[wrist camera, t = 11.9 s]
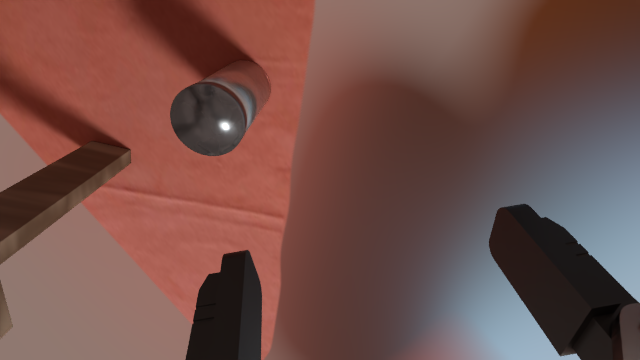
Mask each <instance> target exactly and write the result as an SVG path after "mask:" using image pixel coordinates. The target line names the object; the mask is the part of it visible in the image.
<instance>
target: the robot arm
mask: <svg viewBox="0 0 640 360" xmlns="http://www.w3.org/2000/svg"><path fill="white" fill-rule="evenodd" d="M489 247H490V252H491V254H492V256H493V258H494V260H495V261H496V263H497V264H498V266H499V267H500V269H501V270H502V272H503V273H504V275H505V276H506V278H507V279H508V281H509V282H510V283H511V285H512V286H513V288H514V289H515V291H516V292H517V293H518V295H519V297H520V298H521V300H522V301H523V302H524V304H525V305H526V307H527V308H528V310H529V311H530V313H531V314H532V316H533V317H534V318H535V320H536V321H537V323H538V324H539V326H540V327H541V329H542V330H543V332H544V333H545V335H546V336H547V338H548V339H549V340H550V342H551V343H552V345H553V346H554V348H555V349H556V351H557V352H558V354H559V355H560V356H564V355H570V354H575V353H577V355H578V356H579V357H580V359H581V360H640V303H639V302H638V301H637V300H635V299H634V298H633V297H632V296H631V295H630V294H629V293H628V292H627V291H626V290H625V289H624V288H623V287H622V286H621V285H620V284H619V283H618V282H617V281H616V280H615V279H614V278H613V277H612V276H611V275H610V274H609V273H608V272H607V271H606V270H605V269H604V268H603V267H602V266H601V265H600V264H599V262H597V260H596V259H595V258H593V256H592V255H591V256H590V255H589V254H588V251H587V250H586V249H585V248H583V246H581V244H578V243H577V240H576V239H575V238H574V237H573V236H572V235H571V234H570V233H569V232H568V231H567V230H566V229H565V228H564V227H562V226H560V225H559V224H557V223H555V222H553V221H552V220H550V219H548V218H546V217H545V218H541V217H540V216H539V215H538V214H537V213H536V212H535V211H534V210H533V209H532V208H531V207H530V206H529V205H526V204H520V205H514V206H508V207H502V208H500V209H498V211H497V214H496V217H495V221H494V224H493V228H492V232H491V235H490V239H489ZM193 322H194V323H193V324H192V329H191V334H190V340H189V345H188V350H187V355H186V360H261V322H262V291H261V284H260V280H259V277H258V274H257V271H256V268H255V266H254V263H253V260H252V257H251V255H250V252H249V251H248V250H245V251H239V252H233V253H227V254H224V255H223V258H222V264H221V271H220V272H219V273H213V274H209V275H208V276H207V278H206V279H205V281H204V283H203V284H202V286H201V288H200V289H199V293H198V298H197V303H196V310H195V314H194V319H193Z"/></svg>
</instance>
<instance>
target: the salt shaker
mask: <svg viewBox="0 0 640 360" xmlns="http://www.w3.org/2000/svg"><path fill="white" fill-rule="evenodd" d="M270 93H271V84H270V80H269V78H268V76H267V74H266V72H265V71H264V70H263V69H262V68H261V67H260V66H259V65H257V64H256V63H254V62H251V61H247V60H239V61H235V62H233V63H231V64H229V65H228V66H226V67H224V68H222V69H221V70H219V71H217V72H215V73H213V74H212V75H210V76H208V77H206V78H205V79H203V80H201V81H199V82H198V83H195V84H193V85H191V86H189V87H187V88H185V89H184V90H182V91H181V92H180V93H179V94H178V95H177V96H176V97H175V99H174V100H173V103H172V106H171V111H170V118H171V124H172V127H173V129H174V131H175V133H176V135H177V136H178V138H179V139H180V140H181V141H182V142H183V144H185V145H186V146H187V147H188V148H190V149H191V150H193V151H195V152H197V153H200V154H203V155H208V156H219V155H223V154H226V153H228V152H230V151H232V150H233V149H234V148H235V147H236V146H237V145H238V144H239V142H240V141H241V139H242V138H243V136H244V134H245V132H246V131H247V130H248V128H249V127H250V125H251V124H252V122H253V121H254V120H255V118H256V117H257V115H258V114H259V112H260V111H261V110H262V108H263V107H264V105H265V104H266V102H267V101H268V99H269V97H270Z"/></svg>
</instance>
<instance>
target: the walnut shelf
mask: <svg viewBox="0 0 640 360" xmlns="http://www.w3.org/2000/svg"><path fill="white" fill-rule="evenodd" d="M130 163H131V150H130V149H125V148H121V147H116V146H112V145H107V144H103V143H98V142H94V141H91V142H89V143H87V144H86V145H84V146H82V147H80V148H79V149H77V150H75V151H73V152H71V153H70V154H68V155H66V156H64V157H63V158H61V159H59V160H57V161H55V162H54V163H52V164H50V165H48V166H47V167H45V168H43V169H41V170H39V171H38V172H36V173H34V174H32V175H30V176H29V177H27V178H25V179H23V180H22V181H20V182H18V183H16V184H14V185H13V186H11V187H9V188H7V189H6V190H4V191H2V192H0V264H1V263H3V262H4V261H5V260H7V259H8V258H9V257H11V256H12V255H13V254H14V253H16V252H17V251H18V250H20V249H21V248H22V247H24V246H25V245H26V244H27V243H29V242H30V241H31V240H33V239H34V238H35V237H36V236H38V235H39V234H40V233H42V232H43V231H44V230H45V229H47V228H48V227H49V226H51V225H52V224H53V223H54V222H56V221H57V220H58V219H60V218H61V217H62V216H63V215H64V214H66V213H67V212H68V211H70V210H71V209H72V208H74V207H75V206H76V205H77V204H79V203H80V202H81V201H83V200H84V199H85V198H87V197H88V196H89V195H90V194H92V193H93V192H94V191H96V190H97V189H98V188H99V187H101V186H102V185H103V184H105V183H106V182H107V181H108V180H110V179H111V178H112V177H114V176H115V175H116V174H117V173H119V172H120V171H121V170H123V169H124V168H125V167H126V166H128V165H129V164H130ZM12 327H13V324H12V321H11V317H10V314H9V310H8V307H7V303H6V299H5V296H4V292H3V289H2V285H1V282H0V339H1V338H2V337H3V336H4V335H5V334H6V333H7V332H8V331H9V330H10V329H11V328H12Z"/></svg>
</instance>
